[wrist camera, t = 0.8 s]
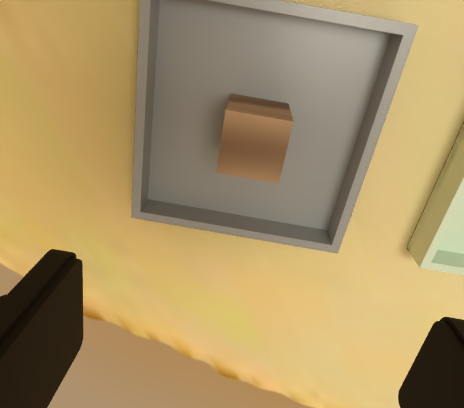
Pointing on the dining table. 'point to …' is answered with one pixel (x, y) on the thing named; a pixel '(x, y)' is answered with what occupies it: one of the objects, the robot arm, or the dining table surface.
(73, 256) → the robot arm
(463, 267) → the pale green bin
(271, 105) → the walnut block
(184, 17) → the grey bin
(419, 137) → the dining table surface
